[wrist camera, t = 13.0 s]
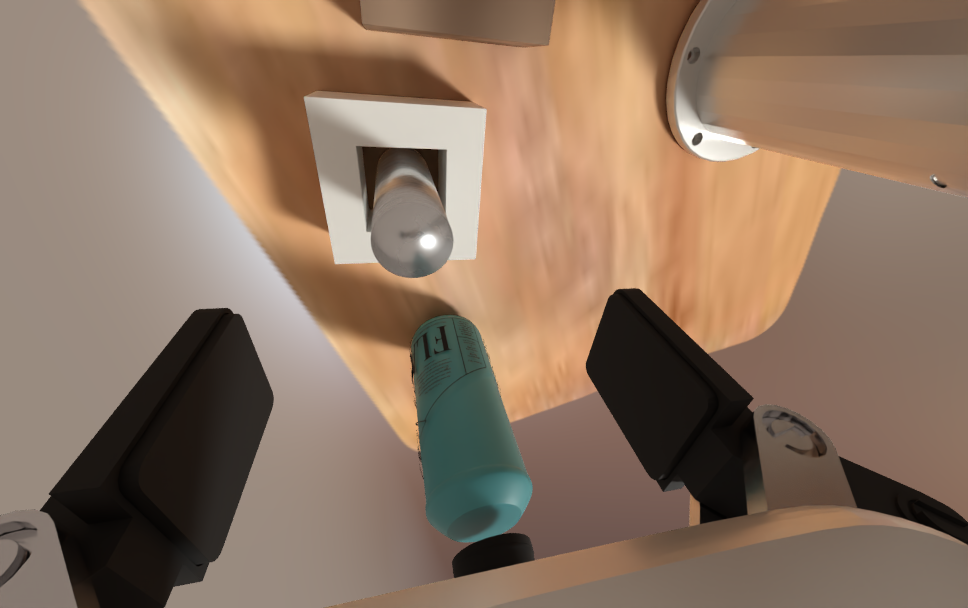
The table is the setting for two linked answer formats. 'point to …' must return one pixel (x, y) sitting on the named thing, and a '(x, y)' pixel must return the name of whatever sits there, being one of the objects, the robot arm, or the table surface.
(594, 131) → the table surface
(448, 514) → the beverage bottle
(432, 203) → the steel peg
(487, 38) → the socket block
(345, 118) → the block
